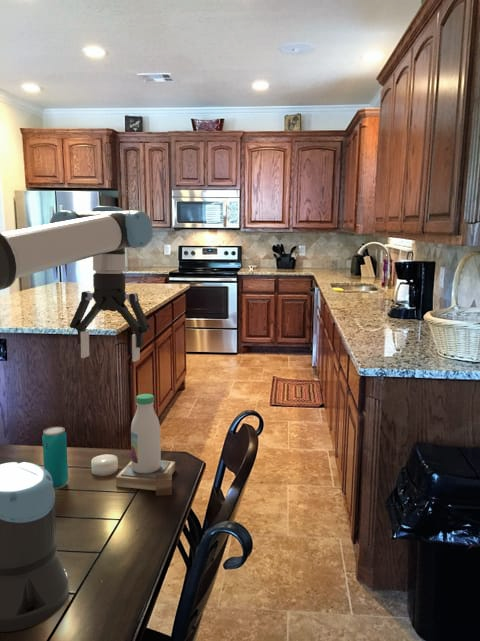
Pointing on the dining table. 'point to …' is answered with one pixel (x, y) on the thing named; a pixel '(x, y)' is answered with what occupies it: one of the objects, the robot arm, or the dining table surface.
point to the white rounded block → (104, 465)
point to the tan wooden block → (163, 484)
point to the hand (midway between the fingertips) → (110, 358)
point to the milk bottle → (145, 437)
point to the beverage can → (55, 455)
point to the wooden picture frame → (142, 476)
